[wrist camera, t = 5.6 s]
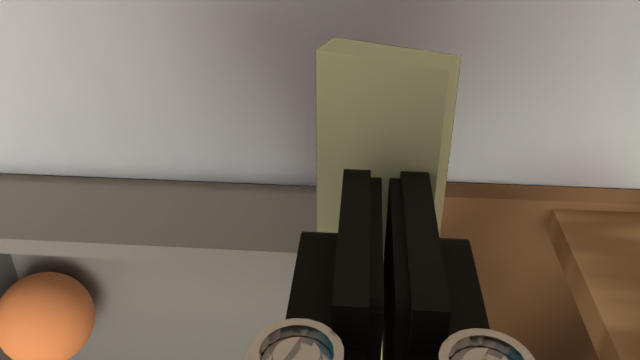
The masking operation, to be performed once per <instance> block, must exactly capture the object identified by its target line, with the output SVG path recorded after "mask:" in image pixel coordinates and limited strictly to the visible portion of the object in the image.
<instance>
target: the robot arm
mask: <svg viewBox="0 0 640 360" xmlns="http://www.w3.org/2000/svg"><path fill="white" fill-rule="evenodd" d="M381 348H382V360H535V359H534V357H533V356H532V355H531V353H530V352H529V350H528V349H527V348H526V347H524V346H523V345H522V344H521V343H520V342H518V341H517V340H516V339H514V338H512V337H510V336H508V335H506V334H504V333H501V332H497V331H494V330H490V326H489V322H488V318H487V313H486V309H485V305H484V301H483V296H482V292H481V288H480V283H479V279H478V275H477V270H476V266H475V262H474V257H473V253H472V249H471V245H470V242H469V240H468V239H456V238H440V237H439V231H438V225H437V219H436V212H435V206H434V200H433V194H432V187H431V181H430V175H429V172H409V171H401V172H400V178H390V179H389V191H388V205H387V220H386V234H385V249H384V263H383V221H382V178H379V177H371V170H359V169H344V171H343V182H342V193H341V205H340V216H339V227H338V233H328V232H306V231H302V232H301V236H300V241H299V246H298V252H297V258H296V263H295V269H294V274H293V280H292V285H291V291H290V296H289V302H288V308H287V313H286V319H285V320H281V321H278V322H276V323H273V324H271V325H269V326H267V327H266V328H264V329H263V330H262V331H260V332H259V333H258V334H257V335H256V337H255V338H254V340H253V341H252V343H251V344H250V347H249V349H248V351H247V353H246V356H245V358H244V360H381Z"/></svg>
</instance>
